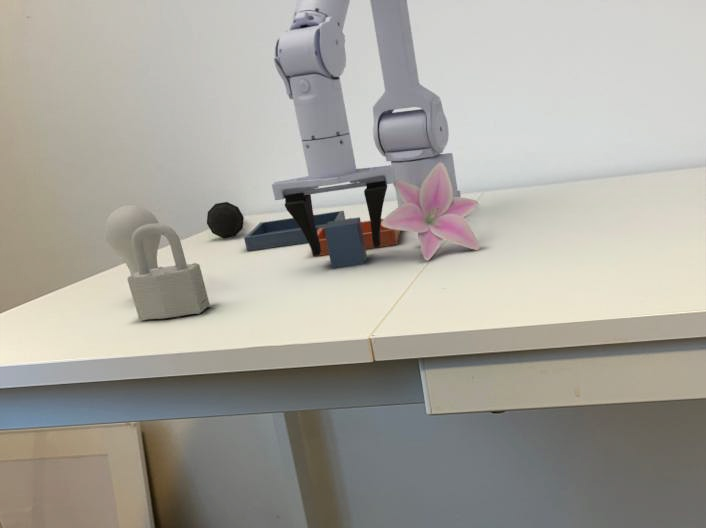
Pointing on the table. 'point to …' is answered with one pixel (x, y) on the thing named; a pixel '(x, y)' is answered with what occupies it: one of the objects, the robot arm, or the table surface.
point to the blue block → (345, 242)
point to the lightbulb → (121, 233)
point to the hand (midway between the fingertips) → (347, 249)
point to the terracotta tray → (386, 237)
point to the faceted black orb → (225, 220)
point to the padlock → (165, 280)
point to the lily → (433, 213)
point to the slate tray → (285, 231)
